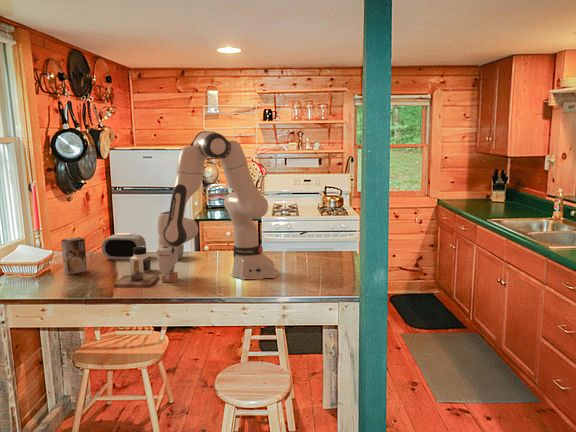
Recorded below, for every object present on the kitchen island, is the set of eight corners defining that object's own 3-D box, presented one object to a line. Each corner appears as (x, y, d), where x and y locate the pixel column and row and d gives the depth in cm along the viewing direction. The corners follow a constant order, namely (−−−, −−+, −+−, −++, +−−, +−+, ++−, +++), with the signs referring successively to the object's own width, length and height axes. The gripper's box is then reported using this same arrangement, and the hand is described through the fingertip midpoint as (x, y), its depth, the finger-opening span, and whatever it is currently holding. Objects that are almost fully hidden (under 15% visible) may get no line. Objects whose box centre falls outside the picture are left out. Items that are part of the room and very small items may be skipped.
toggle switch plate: (158, 277, 232) (158, 256, 231) (150, 287, 218) (149, 264, 217) (124, 277, 232) (123, 256, 231) (113, 286, 219) (112, 264, 217)
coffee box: (83, 268, 248) (80, 236, 245) (87, 271, 243) (85, 239, 240) (63, 272, 242) (61, 239, 239) (67, 274, 237) (65, 241, 235)
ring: (177, 278, 231) (177, 272, 231) (174, 282, 226) (174, 275, 225) (165, 278, 231) (164, 272, 231) (161, 282, 226) (161, 275, 225)
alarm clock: (101, 260, 264) (100, 235, 262) (108, 256, 273) (107, 232, 271) (140, 261, 263) (139, 235, 261) (146, 256, 273) (145, 232, 271)
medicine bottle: (144, 273, 240) (142, 248, 238) (130, 272, 241) (129, 248, 240) (150, 269, 247) (149, 245, 245) (137, 268, 248) (136, 244, 246)
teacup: (162, 257, 272) (162, 242, 270) (183, 255, 275) (182, 241, 274) (164, 263, 259) (164, 248, 257) (186, 261, 262) (185, 246, 261)
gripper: (167, 241, 236) (168, 270, 238) (155, 251, 216) (156, 283, 218) (180, 241, 236) (181, 270, 238) (170, 252, 216) (171, 283, 218)
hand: (169, 276), depth 228 cm, fingers closed on ring, 6 cm apart
